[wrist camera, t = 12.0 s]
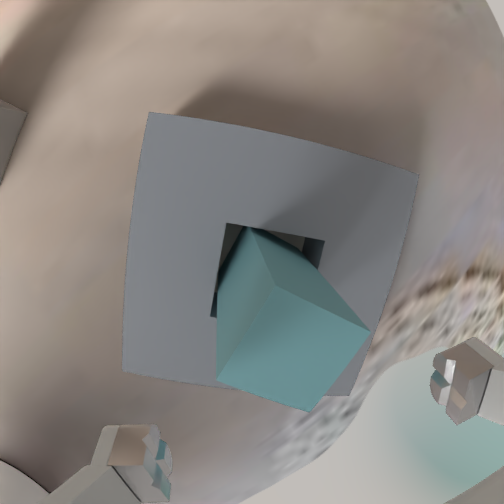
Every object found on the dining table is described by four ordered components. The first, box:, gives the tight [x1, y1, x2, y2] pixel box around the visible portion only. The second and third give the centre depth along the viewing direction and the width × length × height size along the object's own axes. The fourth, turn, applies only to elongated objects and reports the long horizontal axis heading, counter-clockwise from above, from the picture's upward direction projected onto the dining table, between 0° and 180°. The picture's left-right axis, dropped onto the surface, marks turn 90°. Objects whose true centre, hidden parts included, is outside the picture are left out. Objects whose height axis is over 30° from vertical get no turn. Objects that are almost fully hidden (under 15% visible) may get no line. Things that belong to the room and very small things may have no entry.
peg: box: [216, 226, 371, 412], centre depth 16 cm, size 4×4×12 cm
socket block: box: [122, 112, 419, 396], centre depth 21 cm, size 16×16×5 cm
